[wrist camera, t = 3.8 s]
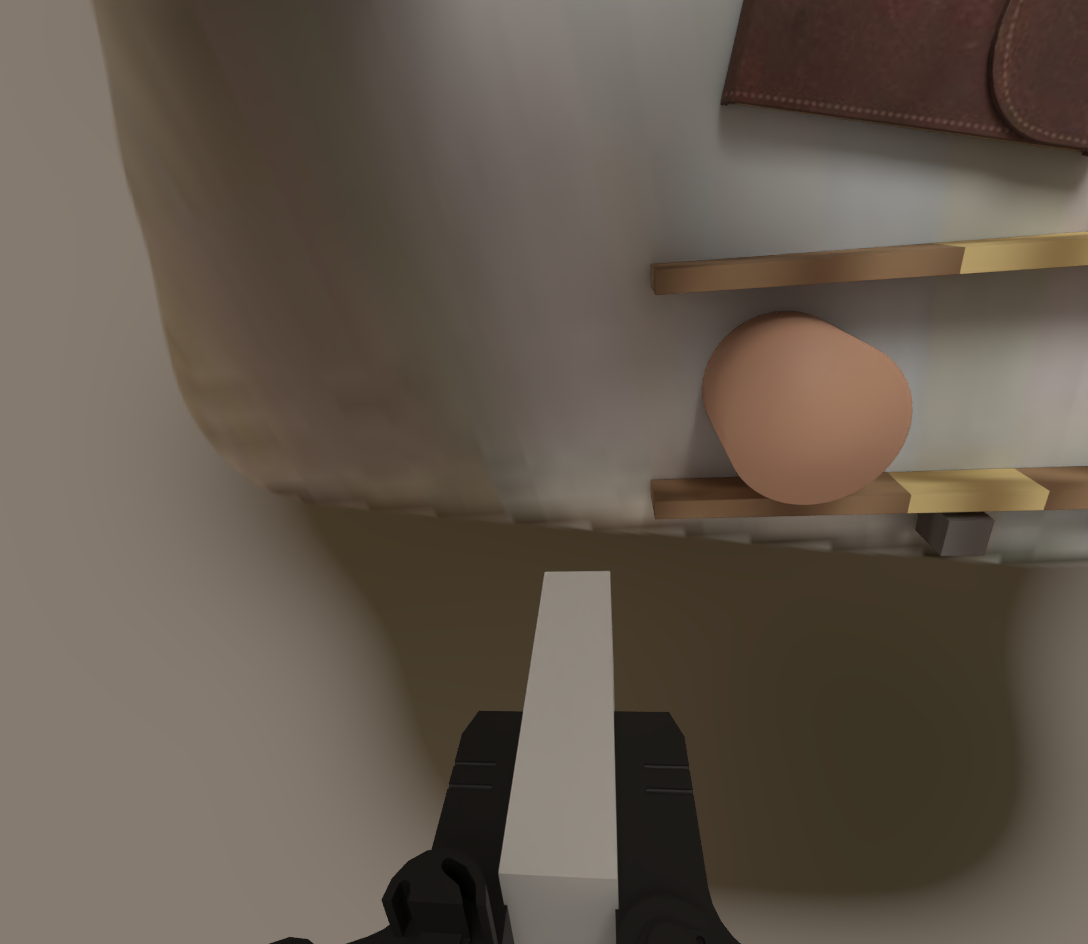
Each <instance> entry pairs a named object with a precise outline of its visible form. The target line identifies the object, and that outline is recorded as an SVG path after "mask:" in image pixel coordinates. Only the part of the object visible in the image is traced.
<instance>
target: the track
mask: <svg viewBox="0 0 1088 944" xmlns="http://www.w3.org/2000/svg"><path fill="white" fill-rule="evenodd" d="M1082 265H1088V232H1075V233H1062V234H1048V235H1035V236H1022V237H1008V238H995V239H982V240H969V241H955V242H942V243H929V244H915V245H902V246H889V247H876V248H862V249H849V250H836V251H822V252H809V253H796V254H782V255H769V256H756V257H743V258H729V259H716V260H703V261H689V262H676V263H663V264H651V287H652V289H653V291H654V292H655V294H656V295H661V294H676V293H690V292H705V291H719V290H734V289H748V288H763V287H777V286H792V285H806V284H821V283H835V282H850V281H864V280H879V279H893V278H908V277H922V276H937V275H951V274H966V273H980V272H995V271H1009V270H1024V269H1038V268H1053V267H1067V266H1082ZM651 498H652V503H653V509H654V515H655V519H682V518H725V517H767V516H810V515H852V514H895V513H919V517H918V522H917V526H916V531H917V532H918V533H919V534H920V535H921V536H922V537H923V538H924V539H925V540H926V541H927V542H928V543H929V544H930V545H931V546H932V548H933V549H934V550H935V551H936V552H937V553H938V554H939V555H940V556H976V555H984V554H985V551H986V548H987V544H988V541H989V538H990V534H991V531H992V527H993V524H994V521H995V520H994V519H992V518H991V517H990V516H989V515H987V514H986V513H985V512H984V511H1022V510H1065V509H1088V466H1074V467H1042V468H1011V469H979V470H947V471H916V472H884V473H882V474H881V475H879V476H878V477H877V478H876V479H875V480H874V481H872V482H871V483H869V484H868V485H866V486H865V487H863V488H862V489H860V490H858V491H856V492H854V493H853V494H850V495H848V496H845V497H843V498H841V499H837V500H834V501H831V502H826V503H821V504H812V505H795V504H788V503H782V502H779V501H775V500H772V499H770V498H767V497H765V496H763V495H761V494H760V493H758V492H756V491H755V490H753V489H752V488H751V487H749V486H748V485H747V484H746V483H745V482H744V481H743V480H742V479H741V478H740V477H725V478H693V479H662V480H651Z"/></svg>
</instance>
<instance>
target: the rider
mask: <svg viewBox="0 0 1088 944" xmlns="http://www.w3.org/2000/svg"><path fill="white" fill-rule="evenodd" d="M702 398H703V403H704V407H705V410H706V413H707V415H708V417H709V419H710V421H711V423H712V425H713V427H714V429H715V431H716V433H717V435H718V437H719V439H720V441H721V443H722V445H723V447H724V449H725V451H726V453H727V455H728V457H729V459H730V461H731V463H732V465H733V467H734V469H735V471H736V472H737V473H738V475H739V476H740V478H741V479H742V480H743V481H744V482H745V483H746V484H747V485H748V486H749V487H751V488H752V489H753V490H755V491H756V492H758V493H760V494H761V495H763V496H765V497H767V498H770V499H772V500H775V501H779V502H782V503H788V504H795V505H812V504H821V503H826V502H831V501H834V500H837V499H841V498H843V497H845V496H848V495H850V494H853V493H854V492H856V491H858V490H860V489H862V488H863V487H865V486H866V485H868V484H869V483H871V482H872V481H874V480H875V479H876V478H877V477H878V476H879V475H881V474H882V473H883V472H884V471H885V470H886V469H887V468H888V466H889V465H890V464H891V463H892V462H893V460H894V459H895V458H896V456H897V455H898V453H899V452H900V450H901V448H902V446H903V445H904V442H905V440H906V438H907V435H908V432H909V429H910V425H911V419H912V398H911V392H910V389H909V386H908V383H907V380H906V378H905V377H904V375H903V373H902V371H901V370H900V369H899V367H898V366H897V365H896V364H895V363H894V362H893V361H892V360H891V359H890V358H889V357H888V356H887V355H885V354H884V353H882V352H881V351H879V350H878V349H876V348H874V347H872V346H870V345H868V344H866V343H865V342H863V341H861V340H859V339H857V338H855V337H853V336H851V335H849V334H848V333H846V332H844V331H842V330H840V329H838V328H836V327H834V326H832V325H830V324H829V323H827V322H825V321H823V320H821V319H819V318H817V317H814V316H812V315H809V314H805V313H801V312H794V311H780V312H772V313H768V314H764V315H761V316H758V317H756V318H753V319H751V320H749V321H747V322H745V323H743V324H742V325H740V326H739V327H737V328H736V329H734V330H733V331H732V332H731V333H730V334H728V335H727V336H726V337H725V338H724V339H723V341H722V342H721V343H720V344H719V345H718V347H717V348H716V349H715V351H714V352H713V354H712V356H711V358H710V359H709V361H708V364H707V367H706V369H705V373H704V377H703V384H702Z"/></svg>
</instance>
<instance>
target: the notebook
mask: <svg viewBox="0 0 1088 944" xmlns="http://www.w3.org/2000/svg"><path fill="white" fill-rule="evenodd" d="M729 103H731V104H738V105H746V106H753V107H760V108H767V109H774V110H782V111H789V112H796V113H803V114H810V115H818V116H825V117H832V118H839V119H846V120H854V121H861V122H868V123H875V124H882V125H890V126H897V127H904V128H911V129H918V130H926V131H933V132H940V133H947V134H954V135H962V136H969V137H976V138H983V139H991V140H998V141H1005V142H1012V143H1019V144H1027V145H1034V146H1041V147H1048V148H1055V149H1063V150H1070V151H1077V152H1078V151H1084V152H1083V154H1082V155H1086V156H1088V0H744V1H743V6H742V10H741V14H740V19H739V23H738V28H737V32H736V37H735V41H734V46H733V50H732V54H731V59H730V63H729V68H728V72H727V77H726V81H725V86H724V90H723V94H722V99H721V105H725V106H727V105H728V104H729Z"/></svg>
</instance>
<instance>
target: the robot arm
mask: <svg viewBox="0 0 1088 944" xmlns="http://www.w3.org/2000/svg"><path fill="white" fill-rule="evenodd" d="M610 586H611V585H610V571H576V572H545V575H544V581H543V588H542V594H541V600H540V607H539V613H538V620H537V626H536V633H535V639H534V645H533V652H532V658H531V665H530V671H529V678H528V685H527V691H526V698H525V704H524V710H523V712H514V711H513V712H512V711H479V712H478V713H477V714H476V716H475V717H474V718H473V720H472V721H471V723H470V724H469V725H468V726H467V728H466V729H465V731H464V732H463V733H462V736H461V740H460V744H459V748H458V751H457V755H456V759H455V766H454V767H453V771H452V774H451V778H450V782H449V789H447V793H446V797H445V801H444V804H443V808H442V812H441V816H440V820H439V824H438V827H437V831H436V835H435V839H434V842H433V846H432V850H428V851H426V852H424V853H422V854H420V855H418V856H416V857H415V858H413V859H411V860H409V861H408V862H407V863H406V864H405V865H404V866H403V867H402V868H401V869H400V870H399V871H398V872H397V874H396V875H395V876H394V877H393V878H392V879H391V881H390V883H389V885H388V888H387V890H386V892H385V894H384V896H383V898H382V903H383V906H384V909H385V912H386V915H387V918H388V921H389V923H390V925H389V926H387V927H386V928H385V929H383V930H381V931H379V932H377V933H374V934H372V935H370V936H368V937H365V938H362V939H359V940H356V941H353V942H350V943H347V944H741V943H739V942H738V941H737V940H736V939H735V938H734V937H733V936H732V935H731V933H730V932H729V931H728V930H727V928H726V927H725V926H724V925H723V923H722V922H721V920H720V918H719V916H718V914H717V912H716V910H715V908H714V906H713V904H712V900H711V897H710V893H709V889H708V884H707V878H706V871H705V865H704V858H703V852H702V846H701V840H700V833H699V827H698V821H697V815H696V808H695V801H694V796H693V788H692V782H691V776H690V771H689V763H688V757H687V750H686V744H685V738H684V735H683V734H682V732H681V731H680V729H679V727H678V726H677V724H676V723H675V721H674V720H673V718H672V716H671V715H670V713H669V712H620V711H619V712H617V711H615V708H614V669H613V641H612V640H613V639H612V612H611V587H610ZM270 944H313V943H312V942H311V941H310V940H308V939H302V938H294V937H288V938H286V939H282V940H279V941H276V942H273V943H270Z"/></svg>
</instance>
